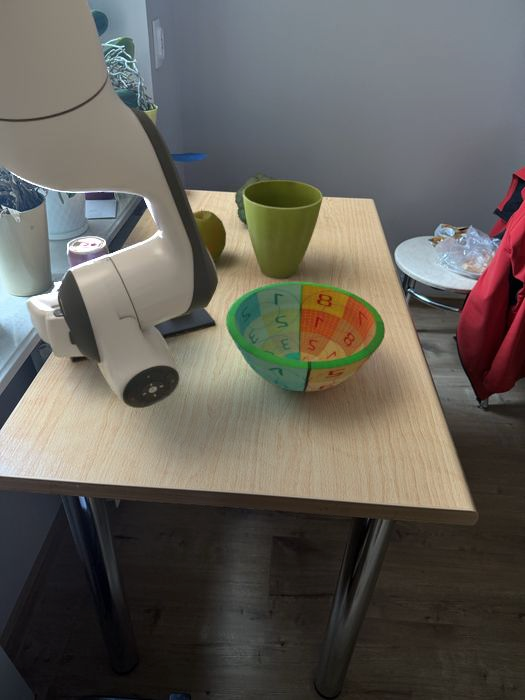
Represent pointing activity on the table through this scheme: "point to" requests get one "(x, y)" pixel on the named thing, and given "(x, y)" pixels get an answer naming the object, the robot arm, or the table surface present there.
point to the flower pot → (281, 223)
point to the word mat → (178, 325)
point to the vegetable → (239, 194)
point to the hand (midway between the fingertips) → (90, 279)
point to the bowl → (304, 333)
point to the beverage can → (86, 250)
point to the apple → (211, 232)
